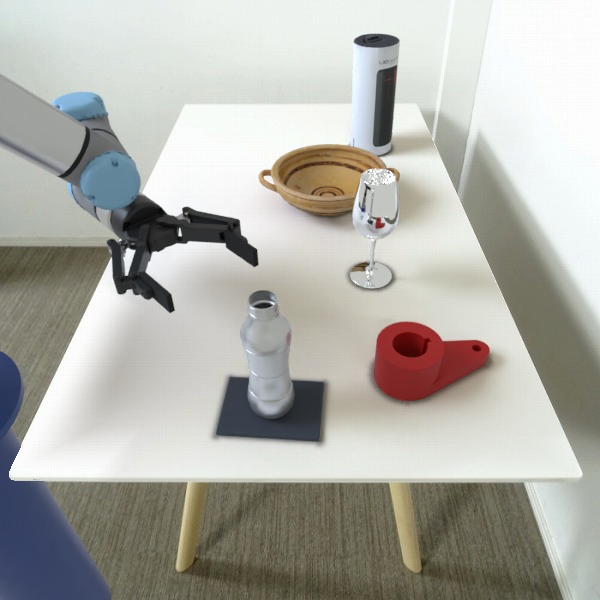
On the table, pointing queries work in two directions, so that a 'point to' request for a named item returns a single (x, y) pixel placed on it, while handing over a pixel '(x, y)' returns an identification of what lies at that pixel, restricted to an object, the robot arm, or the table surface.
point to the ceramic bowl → (322, 177)
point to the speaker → (374, 91)
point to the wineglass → (374, 222)
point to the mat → (292, 425)
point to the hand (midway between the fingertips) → (215, 280)
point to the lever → (422, 360)
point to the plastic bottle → (267, 355)
